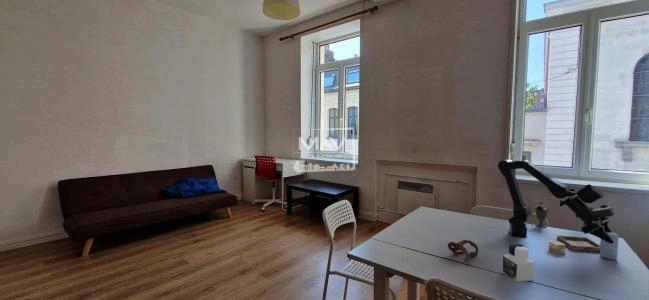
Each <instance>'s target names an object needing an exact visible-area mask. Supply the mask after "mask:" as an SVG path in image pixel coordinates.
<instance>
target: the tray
mask: <svg viewBox="0 0 649 300" xmlns="http://www.w3.org/2000/svg"><path fill="white" fill-rule="evenodd" d="M556 241H559V242H561V243H563V244H565V245H566V246H565V247H567V248H568V249H570V251H580V252H581V251H582V252H591V253H600V244H598V243H597V242H595V241H594V240H592V239H590V238H589V237H587V236H570V235H556Z"/></svg>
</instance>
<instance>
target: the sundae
mask: <svg viewBox="0 0 649 300" xmlns="http://www.w3.org/2000/svg"><path fill="white" fill-rule="evenodd" d="M534 210H535V215H536V216H535V217H536V218H537V219H538V221H539V223H537V224H535V227H537V228H540V229H546V228H547V226H546V225H544V224H543V221H544V220H546V219H547V214H548V212H549V211H550V209H549V208H548V207H547V206H545V203H544V201H543V199H541V202H539V203H538V204H537V205H536V206H534Z"/></svg>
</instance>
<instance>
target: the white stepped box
mask: <svg viewBox="0 0 649 300" xmlns="http://www.w3.org/2000/svg"><path fill="white" fill-rule="evenodd" d="M529 252H530V250H529V248H528V247H527V246H526V245H524V244H520V243H510V244H509V245H508V254H503V255H502V273H503V274H505V275H506V276H507V277H509V278H510V279H511V280H513V281H514V282H517V283H518V282H519V283H520V282H532V281H534V280H535V262H534V261H533V260H531V259H530V258H529Z"/></svg>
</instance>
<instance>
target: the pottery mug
mask: <svg viewBox="0 0 649 300" xmlns="http://www.w3.org/2000/svg"><path fill="white" fill-rule="evenodd" d="M465 244H466V245H467V244H469V245H470V246H471V247H473V248H474V249H475V251H470V252H468V250H467V248H466V247H465V246H464V245H465ZM447 248H448V250H450V251H451V252H452V254H453V255H455V254H456V253H457V252H458V251H457V250H461V251H460V252H462V254H463V255H465V257H464V259H465V260H464V259H463V260H464V261H466V260H469V261H470V260H474V259H476V258H477V257H478V254H479V247H478V246H477V244H476V243H475V242H473V241H471V240H468V239H463V240H460V241H457V242H455V241H450V242H448V243H447Z"/></svg>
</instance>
